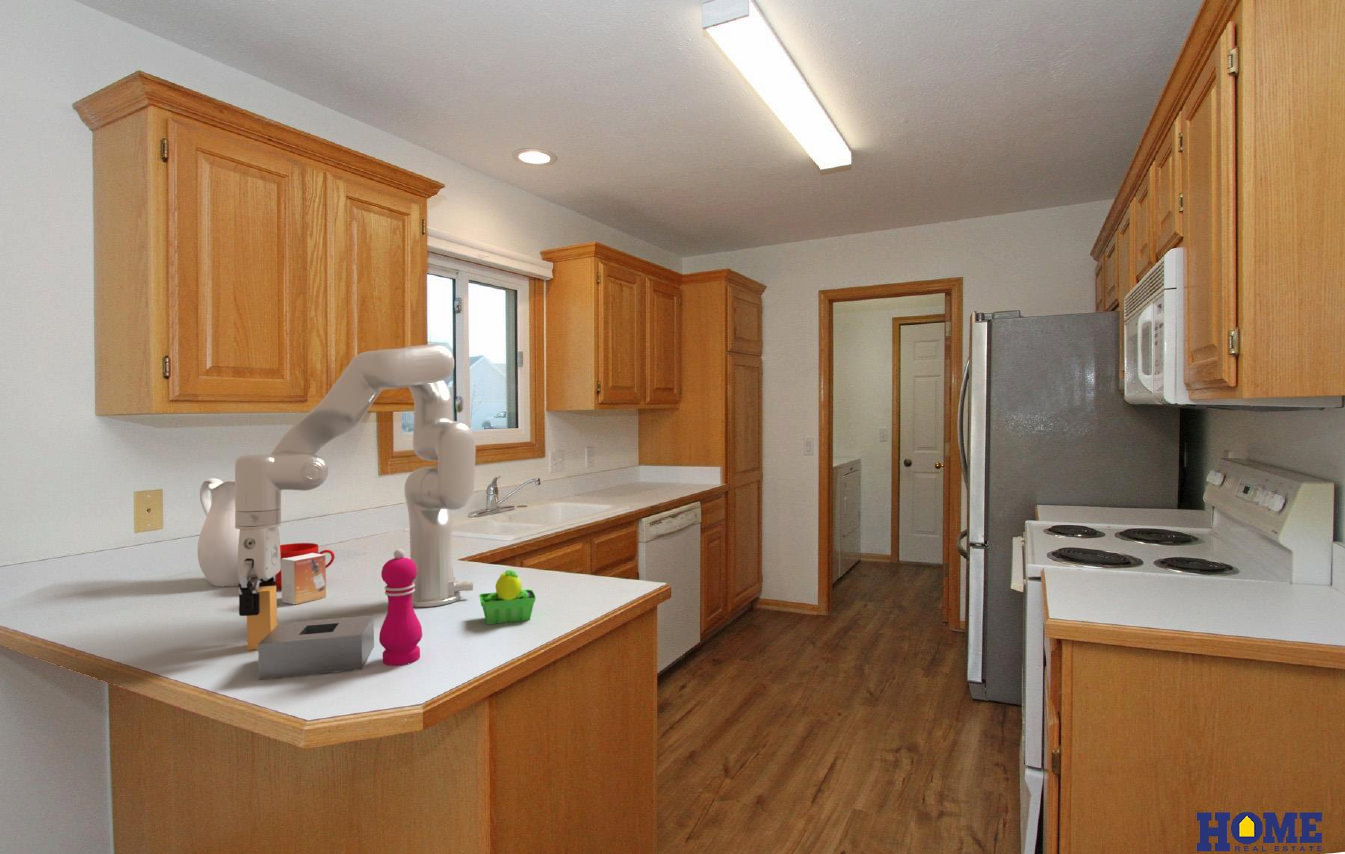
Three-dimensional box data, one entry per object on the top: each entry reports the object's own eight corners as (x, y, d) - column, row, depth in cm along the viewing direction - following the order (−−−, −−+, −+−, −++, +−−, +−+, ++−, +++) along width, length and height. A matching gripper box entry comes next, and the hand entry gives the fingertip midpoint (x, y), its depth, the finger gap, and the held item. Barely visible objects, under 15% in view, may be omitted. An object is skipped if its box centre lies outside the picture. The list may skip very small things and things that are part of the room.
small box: (294, 605, 160) (293, 560, 159) (281, 602, 163) (280, 558, 162) (327, 597, 166) (326, 554, 166) (314, 594, 169) (313, 552, 169)
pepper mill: (387, 653, 127) (384, 545, 126) (427, 651, 127) (425, 544, 127) (373, 668, 119) (371, 553, 119) (416, 666, 120) (413, 552, 120)
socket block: (374, 646, 130) (373, 615, 130) (362, 669, 119) (361, 634, 119) (280, 655, 126) (279, 623, 126) (259, 679, 115) (258, 644, 115)
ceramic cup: (328, 589, 174) (327, 550, 174) (254, 594, 171) (253, 554, 170) (340, 577, 187) (340, 540, 187) (272, 581, 183) (271, 544, 183)
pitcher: (285, 578, 186) (283, 476, 186) (218, 593, 172) (214, 482, 171) (241, 569, 199) (238, 473, 198) (174, 581, 185) (171, 478, 184)
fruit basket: (532, 611, 152) (531, 560, 152) (537, 622, 144) (536, 569, 144) (479, 617, 149) (478, 565, 149) (481, 629, 140) (480, 574, 140)
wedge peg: (277, 641, 134) (276, 585, 134) (271, 648, 130) (269, 590, 130) (254, 643, 133) (253, 587, 133) (247, 650, 129) (246, 592, 129)
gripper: (265, 524, 124) (265, 619, 124) (292, 513, 141) (292, 596, 141) (218, 526, 122) (218, 622, 122) (251, 514, 139) (251, 598, 139)
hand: (258, 608), depth 131 cm, fingers open, 9 cm apart
